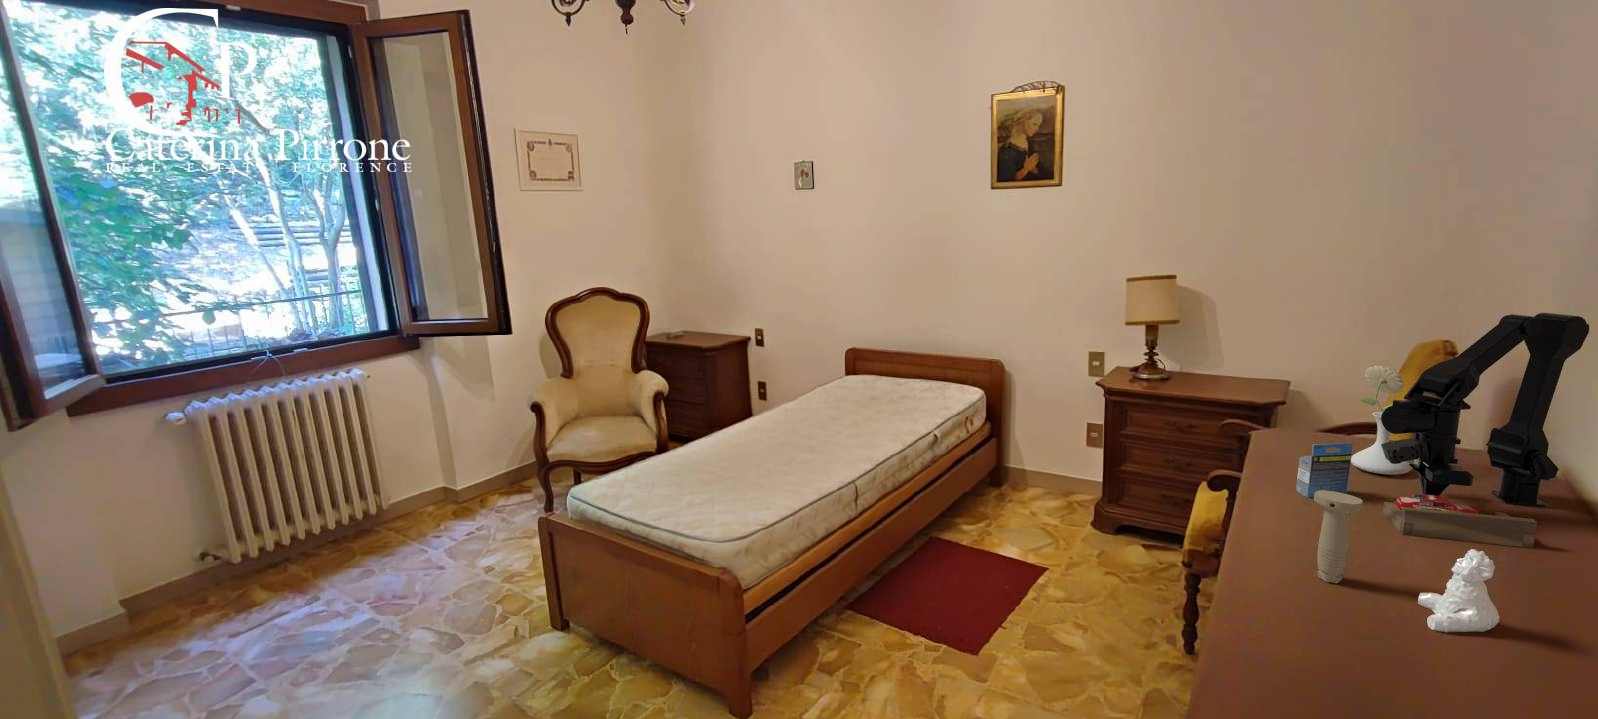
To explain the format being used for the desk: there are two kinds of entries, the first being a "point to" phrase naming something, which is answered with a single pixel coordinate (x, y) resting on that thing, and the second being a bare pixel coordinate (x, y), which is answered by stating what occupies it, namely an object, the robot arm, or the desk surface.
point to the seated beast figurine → (1464, 598)
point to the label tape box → (1324, 469)
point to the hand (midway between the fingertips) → (1428, 502)
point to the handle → (1334, 533)
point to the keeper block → (1462, 526)
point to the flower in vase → (1380, 425)
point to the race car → (1432, 504)
